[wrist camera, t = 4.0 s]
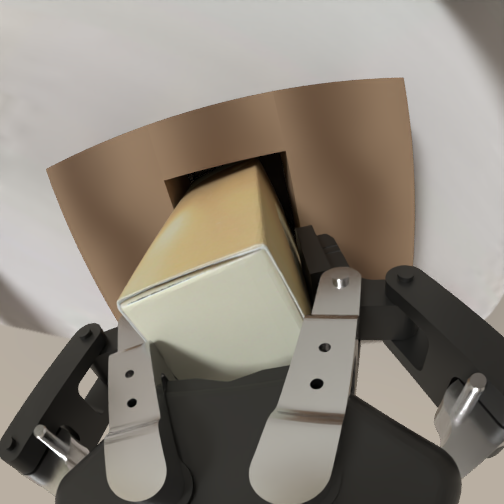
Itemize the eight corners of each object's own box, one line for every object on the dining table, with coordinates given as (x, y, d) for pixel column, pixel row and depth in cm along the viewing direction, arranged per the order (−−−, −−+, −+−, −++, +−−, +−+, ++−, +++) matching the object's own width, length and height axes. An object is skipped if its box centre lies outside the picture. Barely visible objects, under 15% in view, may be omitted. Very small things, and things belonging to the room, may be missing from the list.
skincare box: (295, 235, 20) (343, 398, 9) (235, 260, 20) (227, 429, 10) (254, 145, 17) (269, 240, 6) (188, 177, 18) (107, 308, 7)
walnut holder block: (368, 79, 15) (403, 77, 11) (384, 264, 21) (409, 302, 17) (84, 151, 16) (45, 169, 12) (152, 311, 23) (137, 352, 19)
